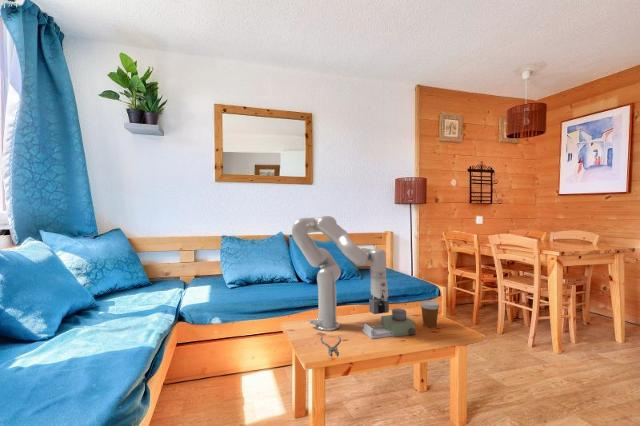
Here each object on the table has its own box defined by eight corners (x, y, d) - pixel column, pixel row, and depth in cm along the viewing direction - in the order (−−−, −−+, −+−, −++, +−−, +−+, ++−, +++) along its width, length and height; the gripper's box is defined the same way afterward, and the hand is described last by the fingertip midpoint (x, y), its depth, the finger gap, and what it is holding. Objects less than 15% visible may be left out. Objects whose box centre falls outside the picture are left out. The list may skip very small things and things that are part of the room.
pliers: (338, 334, 145) (352, 353, 126) (338, 336, 145) (352, 355, 126) (318, 336, 143) (330, 355, 124) (318, 338, 143) (330, 357, 124)
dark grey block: (374, 314, 144) (373, 301, 144) (369, 311, 149) (369, 299, 149) (388, 312, 146) (388, 300, 146) (383, 309, 151) (383, 297, 151)
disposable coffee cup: (442, 329, 153) (442, 305, 153) (423, 329, 153) (423, 305, 153) (435, 322, 162) (435, 300, 162) (417, 322, 162) (417, 300, 162)
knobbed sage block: (373, 340, 139) (373, 319, 139) (360, 329, 153) (360, 309, 153) (416, 334, 146) (416, 314, 146) (400, 324, 159) (400, 305, 159)
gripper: (394, 277, 141) (394, 315, 140) (376, 270, 157) (377, 305, 157) (379, 278, 138) (380, 317, 138) (363, 271, 155) (364, 306, 155)
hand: (378, 310), depth 148 cm, fingers closed on dark grey block, 5 cm apart
